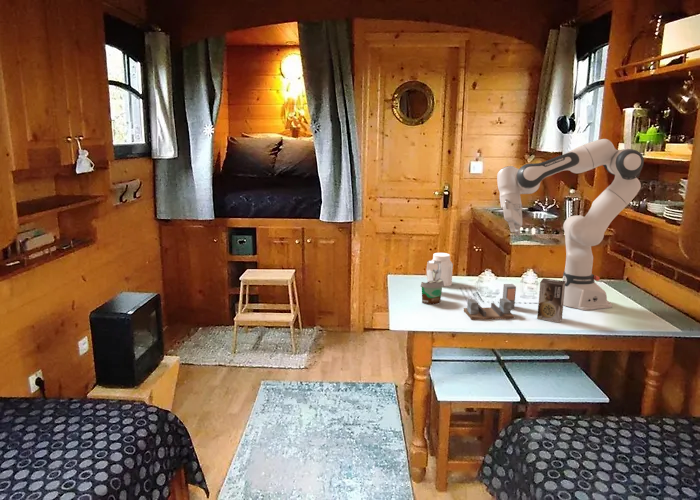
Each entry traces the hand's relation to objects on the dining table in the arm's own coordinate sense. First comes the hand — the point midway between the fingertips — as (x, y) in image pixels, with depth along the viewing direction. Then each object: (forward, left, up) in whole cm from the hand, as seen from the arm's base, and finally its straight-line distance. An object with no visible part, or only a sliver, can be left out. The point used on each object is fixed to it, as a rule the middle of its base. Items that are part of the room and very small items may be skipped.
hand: (515, 233), depth 236 cm
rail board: (+14, +13, -32) cm, 37 cm away
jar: (+23, -33, -32) cm, 52 cm away
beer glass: (+30, -19, -32) cm, 48 cm away
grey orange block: (+2, +4, -32) cm, 32 cm away
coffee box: (-10, +19, -32) cm, 39 cm away
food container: (+33, -4, -32) cm, 47 cm away
